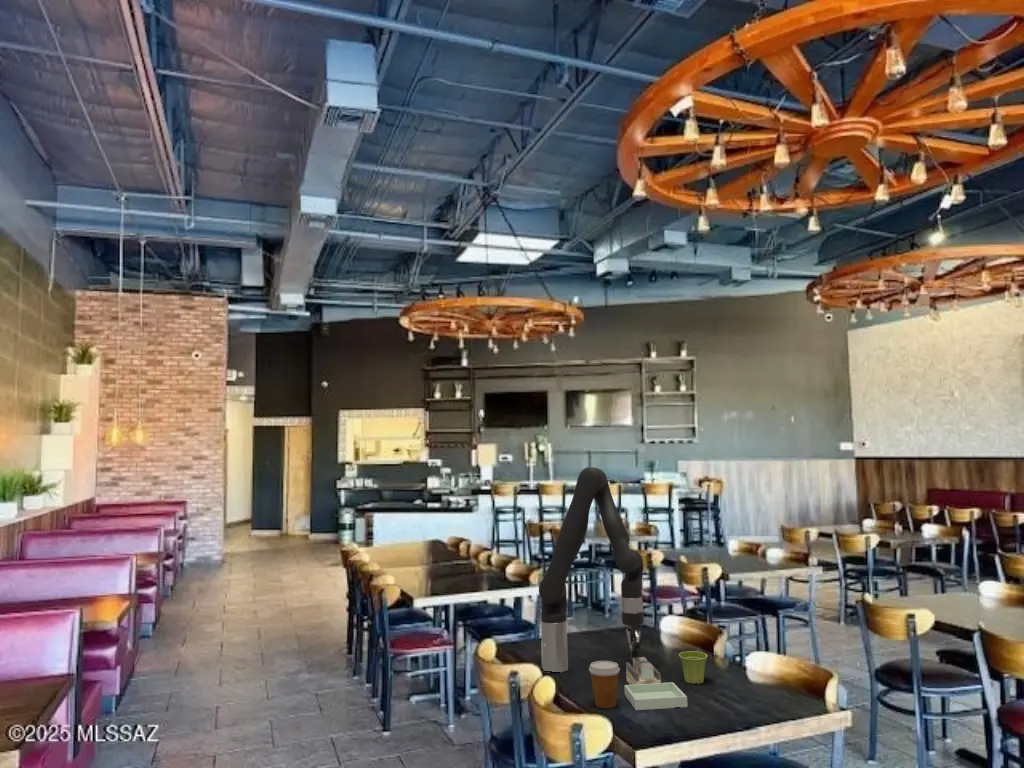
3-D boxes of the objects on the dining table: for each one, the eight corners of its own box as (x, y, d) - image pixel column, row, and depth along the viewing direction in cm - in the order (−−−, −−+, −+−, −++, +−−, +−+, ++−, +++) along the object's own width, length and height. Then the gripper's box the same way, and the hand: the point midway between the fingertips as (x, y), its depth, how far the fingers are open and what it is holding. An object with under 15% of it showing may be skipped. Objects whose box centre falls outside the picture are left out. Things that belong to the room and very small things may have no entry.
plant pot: (713, 680, 242) (712, 654, 243) (700, 688, 235) (698, 660, 236) (689, 675, 249) (687, 649, 249) (674, 682, 242) (673, 655, 243)
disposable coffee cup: (613, 712, 216) (611, 670, 217) (585, 707, 221) (583, 666, 222) (626, 702, 224) (624, 662, 225) (598, 697, 229) (596, 658, 230)
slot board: (637, 694, 231) (636, 674, 232) (626, 680, 245) (625, 662, 246) (661, 692, 232) (660, 673, 233) (649, 679, 246) (648, 661, 246)
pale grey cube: (641, 679, 233) (641, 667, 233) (638, 676, 237) (637, 663, 237) (653, 679, 233) (653, 666, 234) (650, 675, 237) (649, 662, 238)
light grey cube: (636, 673, 240) (635, 661, 240) (633, 669, 244) (632, 657, 244) (648, 672, 240) (647, 660, 240) (644, 669, 244) (644, 657, 244)
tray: (635, 710, 217) (635, 699, 217) (624, 694, 231) (624, 685, 231) (687, 707, 218) (687, 696, 219) (673, 691, 232) (673, 682, 233)
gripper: (617, 606, 258) (619, 656, 256) (626, 614, 245) (628, 667, 243) (637, 605, 259) (640, 655, 257) (647, 613, 245) (650, 665, 244)
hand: (634, 660), depth 250 cm, fingers closed
